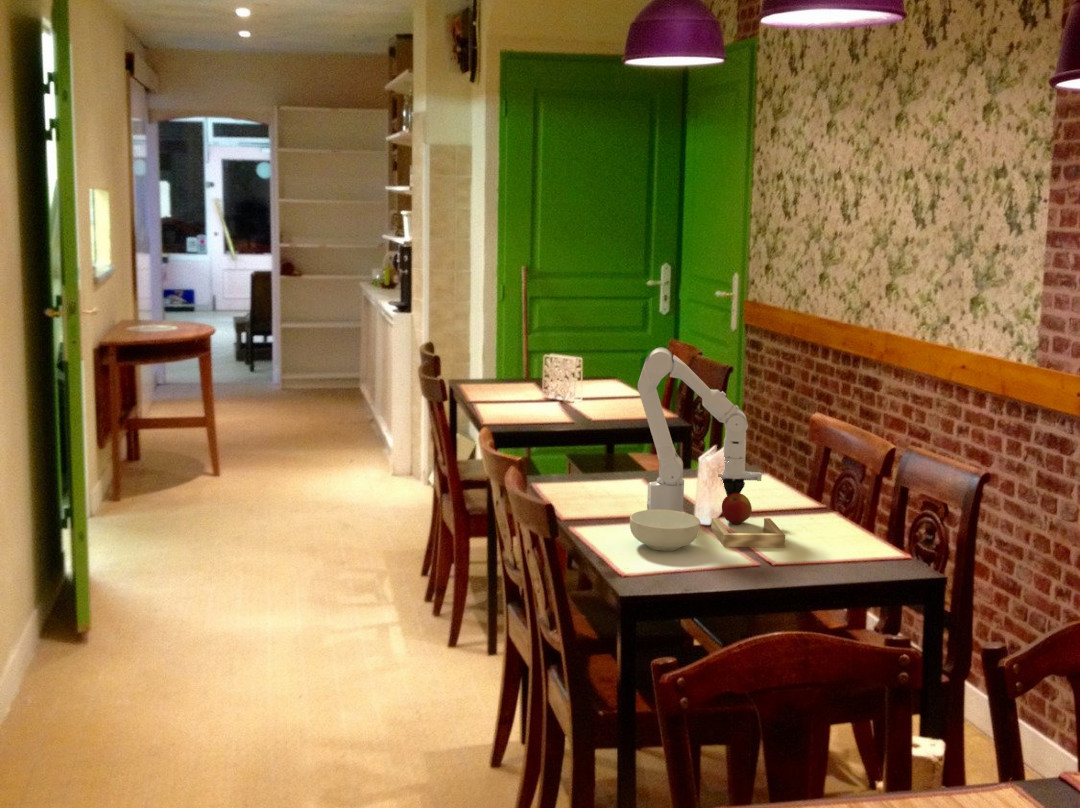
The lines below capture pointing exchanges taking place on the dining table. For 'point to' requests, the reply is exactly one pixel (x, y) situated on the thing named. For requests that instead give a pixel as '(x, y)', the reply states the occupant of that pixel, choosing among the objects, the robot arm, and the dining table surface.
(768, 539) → the shallow wooden tray
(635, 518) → the cereal bowl
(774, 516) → the dining table surface
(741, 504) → the apple
